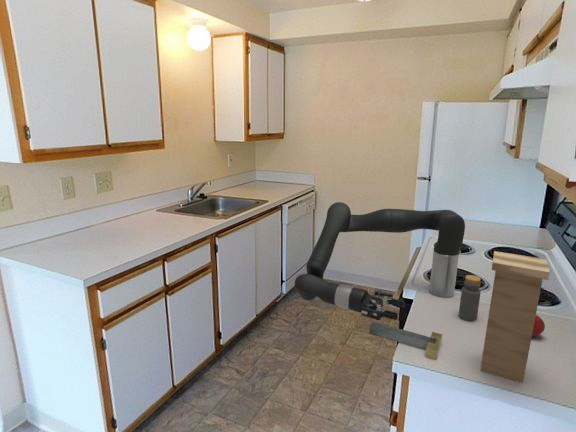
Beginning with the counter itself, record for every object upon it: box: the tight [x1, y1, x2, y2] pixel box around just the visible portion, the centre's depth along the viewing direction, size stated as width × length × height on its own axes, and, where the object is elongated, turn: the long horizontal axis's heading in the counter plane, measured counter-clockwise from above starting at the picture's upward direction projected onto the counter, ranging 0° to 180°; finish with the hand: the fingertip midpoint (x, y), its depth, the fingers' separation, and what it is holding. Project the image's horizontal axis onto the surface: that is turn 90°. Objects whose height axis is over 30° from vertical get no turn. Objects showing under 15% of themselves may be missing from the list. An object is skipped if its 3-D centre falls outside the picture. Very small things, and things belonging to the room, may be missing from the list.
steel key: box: [368, 321, 443, 360], centre depth 117 cm, size 10×21×3 cm, turn 60°
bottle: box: [458, 274, 482, 322], centre depth 129 cm, size 6×6×15 cm
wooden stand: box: [480, 250, 550, 384], centre depth 100 cm, size 10×12×32 cm
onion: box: [532, 313, 546, 337], centre depth 119 cm, size 6×6×8 cm
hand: (401, 310), depth 115 cm, fingers open, 8 cm apart
